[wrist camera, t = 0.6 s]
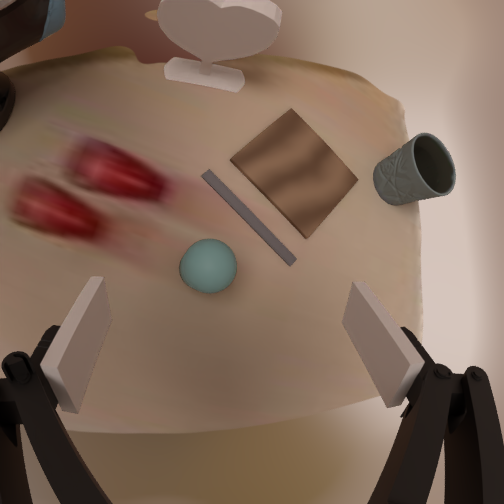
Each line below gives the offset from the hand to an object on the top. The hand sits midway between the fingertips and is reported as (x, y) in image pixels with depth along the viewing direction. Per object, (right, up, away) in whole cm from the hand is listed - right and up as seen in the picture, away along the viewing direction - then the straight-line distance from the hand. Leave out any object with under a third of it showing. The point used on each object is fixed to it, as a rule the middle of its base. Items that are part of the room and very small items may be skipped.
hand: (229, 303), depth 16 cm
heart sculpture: (-7, +31, +29) cm, 43 cm away
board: (+8, +15, +31) cm, 36 cm away
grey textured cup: (+26, +15, +36) cm, 47 cm away
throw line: (+1, +7, +29) cm, 30 cm away
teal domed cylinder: (-6, 0, +27) cm, 27 cm away
